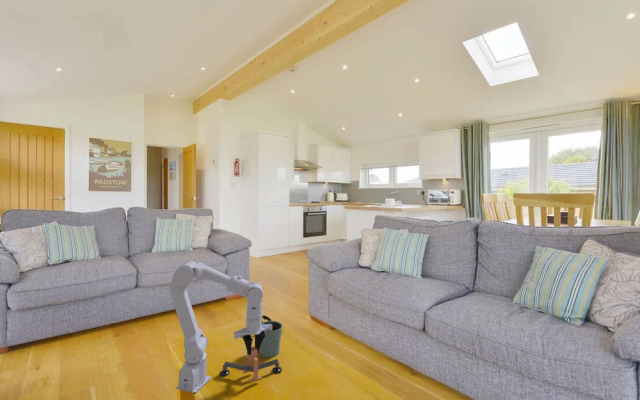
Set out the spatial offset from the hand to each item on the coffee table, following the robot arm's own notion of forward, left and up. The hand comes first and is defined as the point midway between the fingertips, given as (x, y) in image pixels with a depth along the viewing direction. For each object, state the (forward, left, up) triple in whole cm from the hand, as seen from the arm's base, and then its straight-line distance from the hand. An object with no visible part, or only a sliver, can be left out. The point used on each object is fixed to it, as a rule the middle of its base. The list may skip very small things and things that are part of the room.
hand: (252, 352), depth 115 cm
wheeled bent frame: (+4, +2, -10) cm, 11 cm away
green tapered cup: (+20, +1, -10) cm, 23 cm away
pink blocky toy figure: (0, 0, -8) cm, 8 cm away
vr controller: (+38, +15, -10) cm, 42 cm away
